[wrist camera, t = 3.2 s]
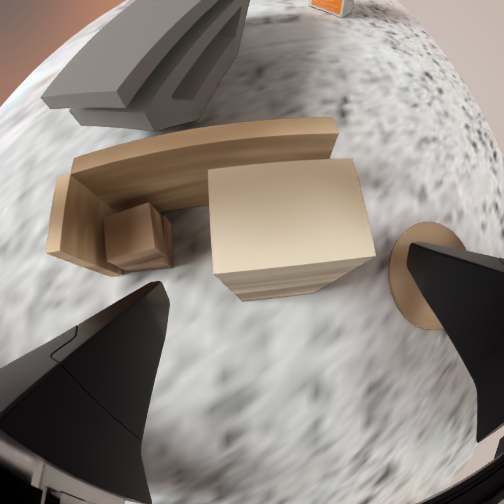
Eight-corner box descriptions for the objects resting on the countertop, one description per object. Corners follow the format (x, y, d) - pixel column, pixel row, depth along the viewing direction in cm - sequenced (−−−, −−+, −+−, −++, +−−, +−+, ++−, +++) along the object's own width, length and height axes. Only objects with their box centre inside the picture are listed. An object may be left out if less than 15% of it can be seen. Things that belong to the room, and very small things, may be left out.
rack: (326, 254, 20) (361, 215, 13) (109, 276, 21) (46, 253, 13) (312, 181, 22) (333, 117, 14) (112, 207, 22) (60, 162, 14)
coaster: (480, 271, 19) (484, 270, 19) (436, 351, 18) (440, 351, 17) (421, 204, 21) (424, 201, 20) (367, 279, 20) (370, 278, 19)
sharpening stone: (200, 26, 29) (188, -34, 18) (254, 29, 28) (250, -37, 17) (102, 166, 23) (40, 97, 13) (169, 179, 22) (116, 91, 12)
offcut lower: (173, 268, 21) (164, 262, 19) (130, 272, 21) (117, 267, 19) (172, 224, 22) (163, 215, 19) (130, 230, 22) (118, 222, 20)
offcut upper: (166, 255, 19) (154, 247, 17) (121, 268, 19) (106, 261, 16) (160, 214, 19) (149, 202, 17) (117, 227, 19) (103, 217, 17)
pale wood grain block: (311, 293, 20) (375, 255, 8) (242, 301, 20) (213, 273, 8) (305, 246, 21) (352, 158, 9) (238, 253, 21) (207, 169, 9)
